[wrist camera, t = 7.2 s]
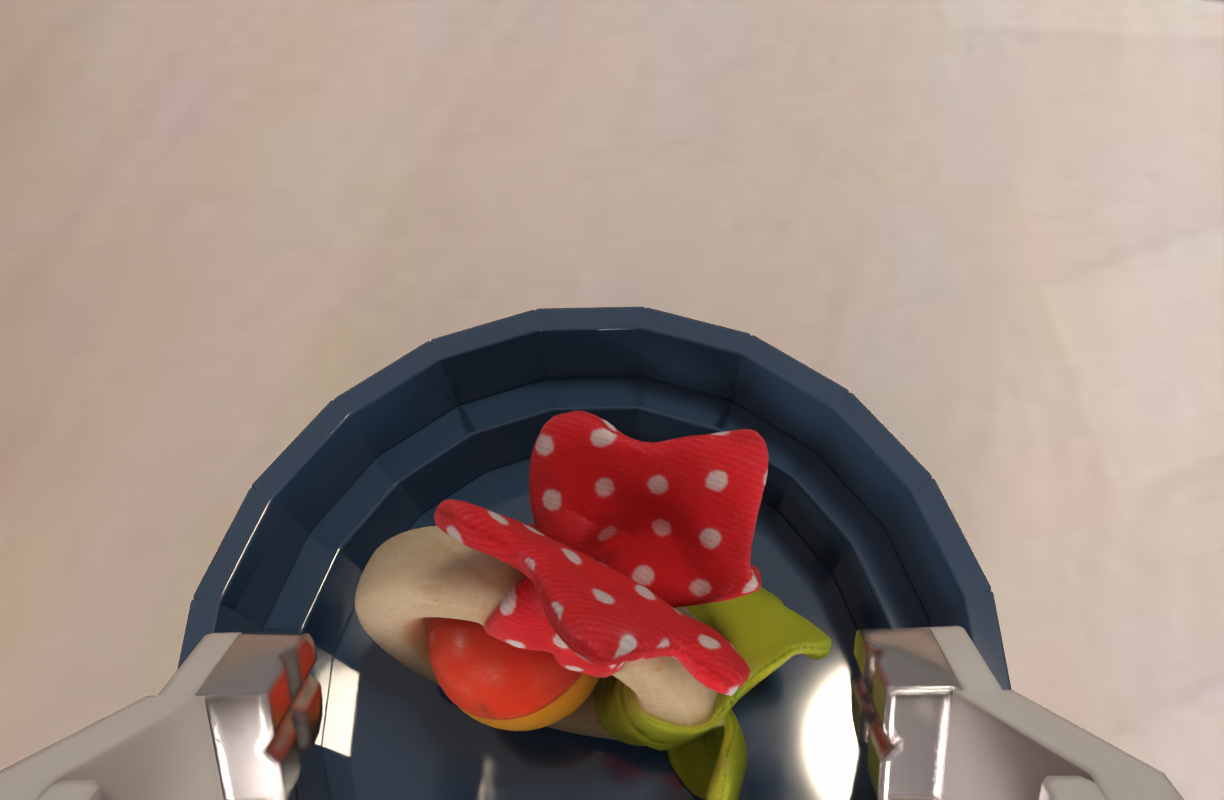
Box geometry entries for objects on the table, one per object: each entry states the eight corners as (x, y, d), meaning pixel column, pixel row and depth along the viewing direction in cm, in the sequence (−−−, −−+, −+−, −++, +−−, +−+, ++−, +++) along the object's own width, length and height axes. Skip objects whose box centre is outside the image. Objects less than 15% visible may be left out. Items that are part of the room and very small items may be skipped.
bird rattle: (485, 834, 22) (868, 905, 18) (85, 749, 14) (642, 848, 10) (538, 581, 25) (881, 593, 21) (234, 379, 16) (715, 334, 12)
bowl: (994, 1110, 18) (1107, 1190, 14) (208, 1108, 19) (72, 1184, 14) (886, 400, 25) (939, 300, 21) (317, 409, 26) (248, 313, 21)
